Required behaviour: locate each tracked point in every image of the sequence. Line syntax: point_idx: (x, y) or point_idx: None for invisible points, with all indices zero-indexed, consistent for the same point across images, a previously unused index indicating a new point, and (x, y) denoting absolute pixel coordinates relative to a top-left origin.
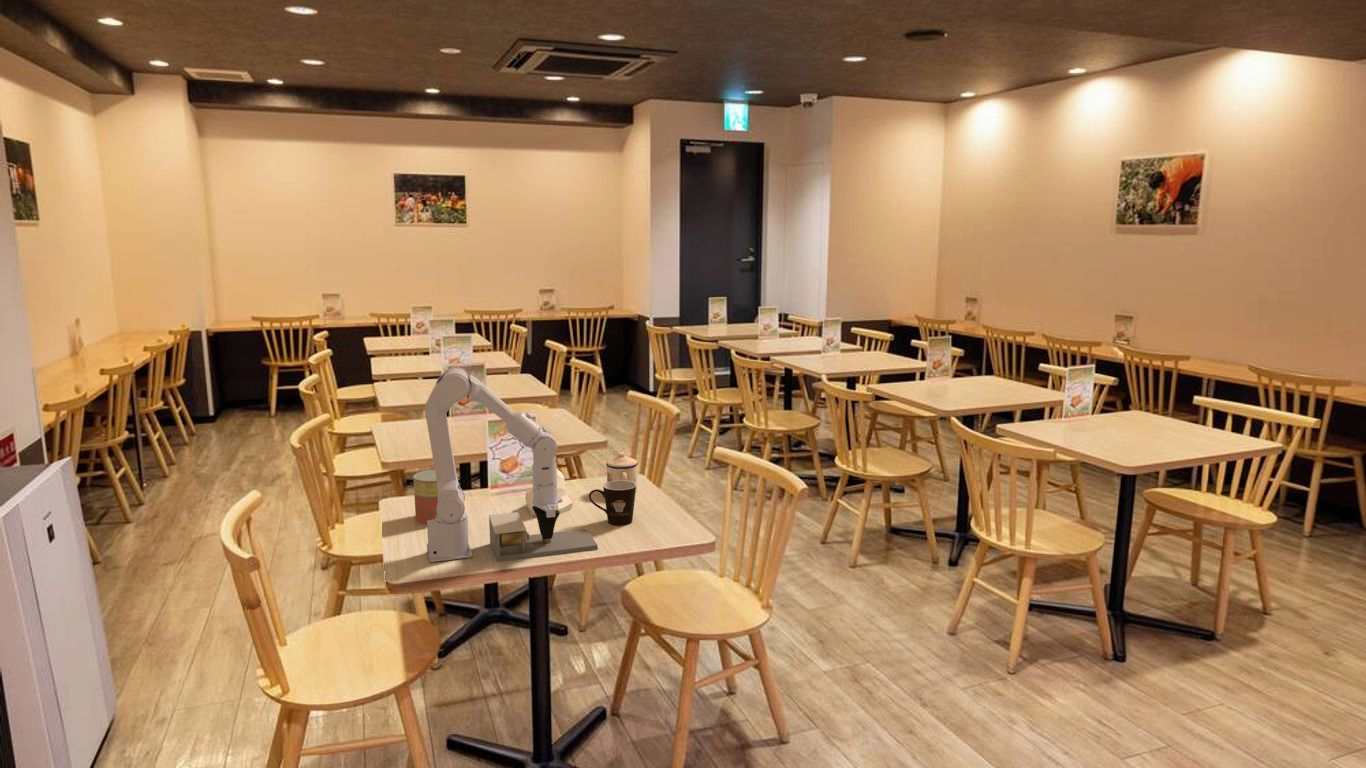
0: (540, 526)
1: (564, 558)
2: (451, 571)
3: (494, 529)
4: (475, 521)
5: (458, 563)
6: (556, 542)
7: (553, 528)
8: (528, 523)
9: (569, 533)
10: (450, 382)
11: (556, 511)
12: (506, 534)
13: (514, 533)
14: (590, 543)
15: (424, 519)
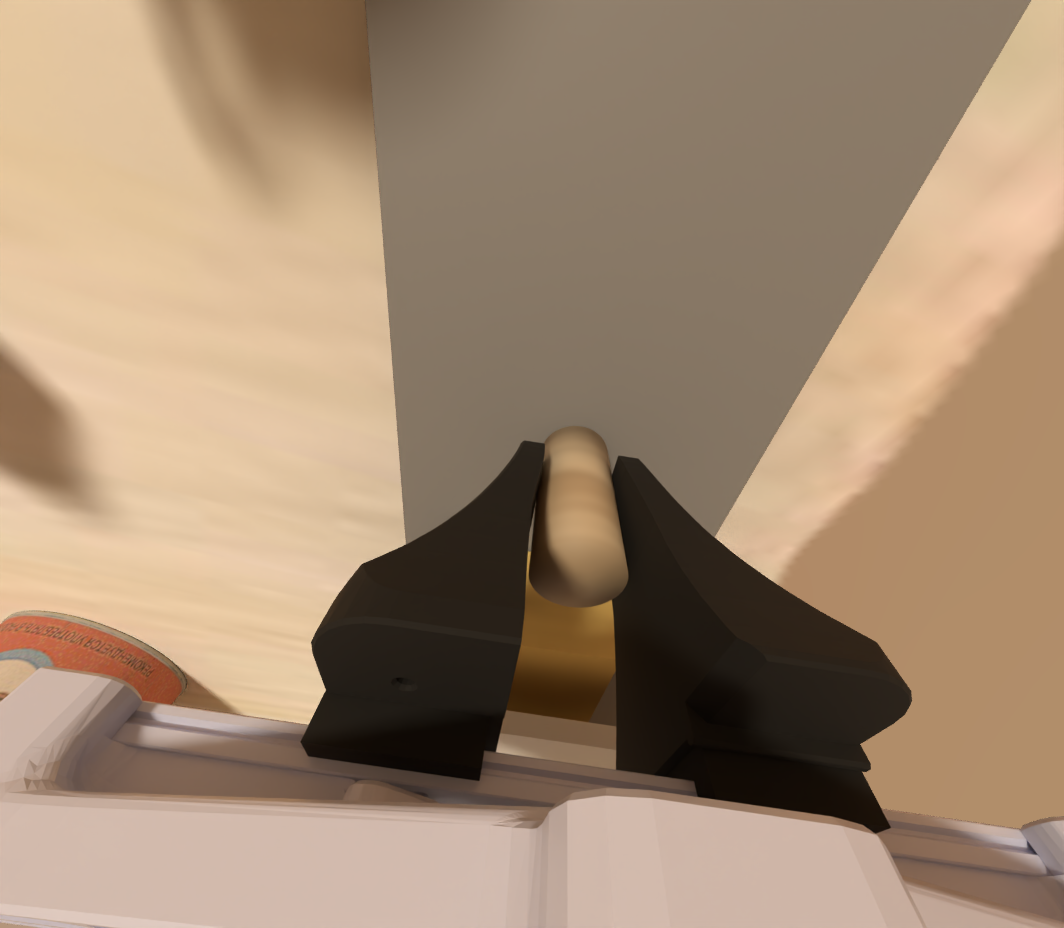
0: (618, 607)
1: (864, 414)
2: None
3: None
4: (117, 589)
5: None
6: (623, 397)
7: (681, 511)
8: (110, 401)
9: (465, 202)
10: None
11: (807, 695)
12: (587, 720)
13: (598, 699)
14: (905, 58)
15: None
